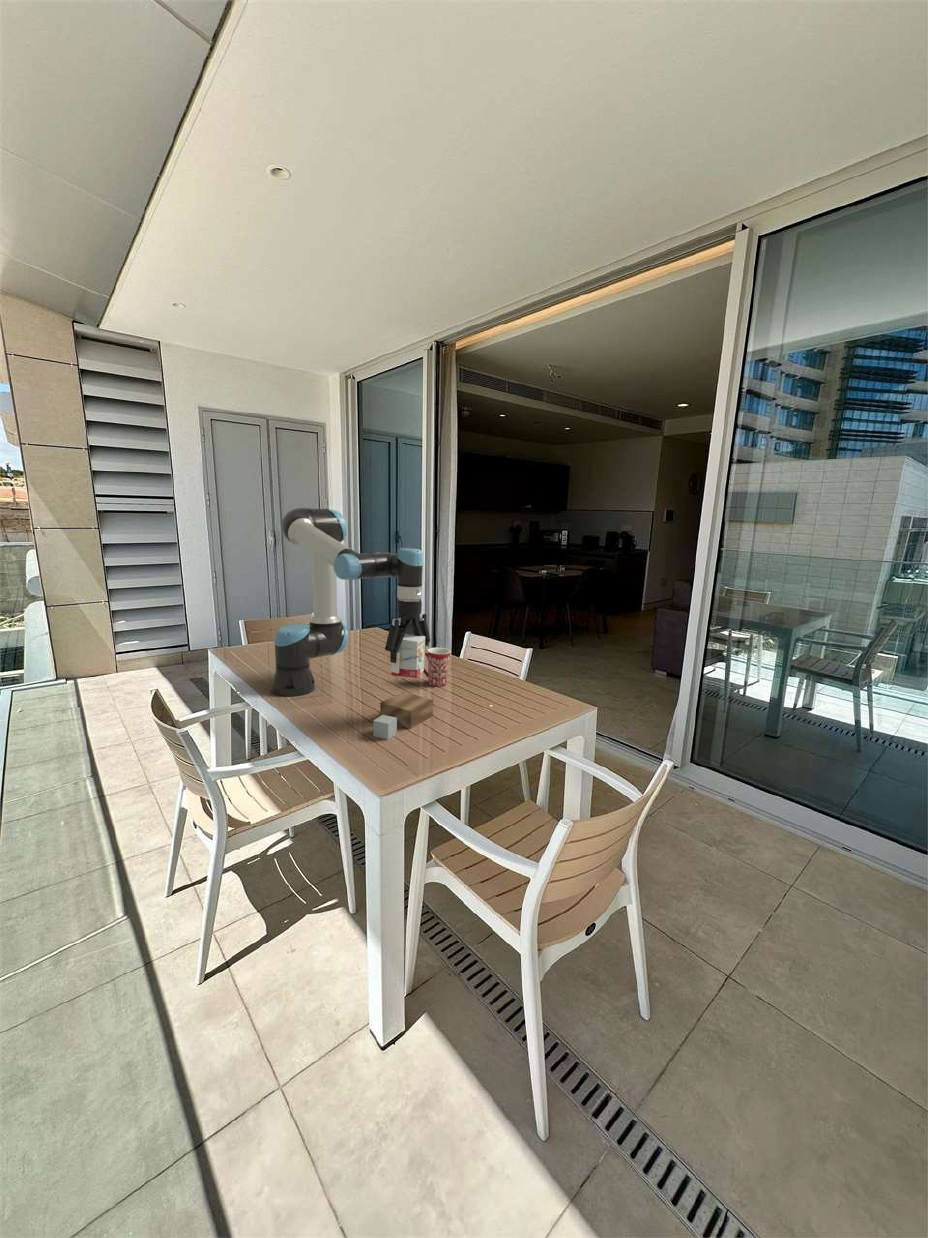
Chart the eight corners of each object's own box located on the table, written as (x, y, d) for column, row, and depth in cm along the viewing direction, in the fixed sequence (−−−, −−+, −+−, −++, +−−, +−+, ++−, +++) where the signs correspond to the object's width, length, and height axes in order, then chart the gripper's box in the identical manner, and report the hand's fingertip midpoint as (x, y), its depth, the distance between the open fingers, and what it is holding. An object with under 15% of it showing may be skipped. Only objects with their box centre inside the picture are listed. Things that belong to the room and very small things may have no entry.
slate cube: (373, 736, 146) (373, 720, 145) (382, 730, 151) (382, 714, 150) (388, 740, 145) (388, 723, 144) (396, 733, 149) (396, 717, 148)
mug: (452, 682, 197) (454, 649, 195) (444, 689, 189) (445, 654, 186) (423, 677, 202) (424, 645, 199) (413, 684, 193) (414, 650, 190)
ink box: (416, 678, 153) (417, 641, 150) (390, 675, 154) (390, 638, 152) (424, 670, 161) (425, 634, 159) (399, 667, 163) (400, 632, 160)
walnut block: (380, 720, 159) (380, 702, 157) (403, 708, 169) (403, 692, 168) (410, 729, 153) (411, 711, 152) (432, 717, 163) (433, 699, 162)
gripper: (391, 605, 142) (390, 679, 146) (442, 597, 160) (440, 663, 164) (372, 601, 146) (372, 673, 150) (425, 594, 164) (423, 658, 169)
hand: (408, 668), depth 157 cm, fingers closed on ink box, 11 cm apart
